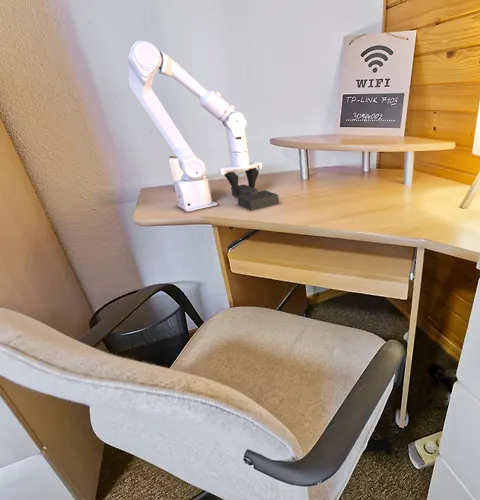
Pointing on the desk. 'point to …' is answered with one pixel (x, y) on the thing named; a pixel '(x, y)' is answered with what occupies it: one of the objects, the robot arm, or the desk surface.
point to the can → (175, 168)
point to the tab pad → (245, 190)
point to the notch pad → (258, 200)
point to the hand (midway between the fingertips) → (244, 192)
